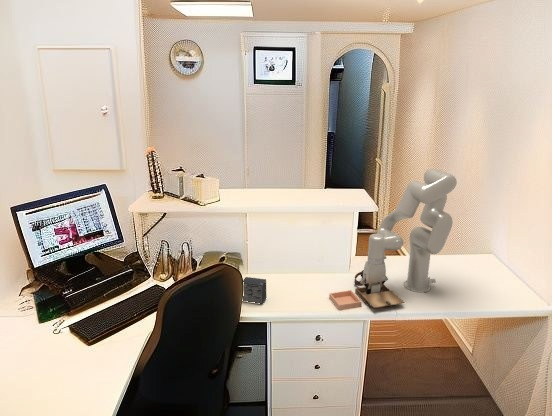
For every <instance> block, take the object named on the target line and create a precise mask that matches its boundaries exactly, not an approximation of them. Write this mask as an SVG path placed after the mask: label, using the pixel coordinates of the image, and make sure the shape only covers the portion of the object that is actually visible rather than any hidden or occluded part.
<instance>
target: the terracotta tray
mask: <svg viewBox="0 0 552 416" xmlns="http://www.w3.org/2000/svg"><path fill="white" fill-rule="evenodd" d="M328 297H329V300H330V301H331V302H332V304H333V305H334V306H335V307H336V308H337V310H338V311H343V310H349V309H355V308H360V307H362V303H363V301H362V300H361V299H360V298H359V297H358V296H357V294H356V293H355V292H354V291H353V290H352V289H351V290H343V291H337V292H331V293H330V292H329V295H328Z"/></svg>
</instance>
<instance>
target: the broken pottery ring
mask: <svg viewBox="0 0 552 416" xmlns="http://www.w3.org/2000/svg"><path fill="white" fill-rule="evenodd" d="M363 271H364V269H363V270H361V271H359V272H358V273H356V274H355V276H354V281H353V282H354V286H358V287H364V285H363V284H361V283H360V281H361V280H362V279H363ZM359 276H360V277H361V280H357V278H358V277H359ZM365 283H366V281H365Z"/></svg>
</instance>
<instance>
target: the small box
mask: <svg viewBox="0 0 552 416" xmlns="http://www.w3.org/2000/svg"><path fill="white" fill-rule="evenodd" d="M242 281H243V282H244V296H243V301H248V302H255V303H260V304H259V305H261V304H263V303H264V304H265V302H266V301H267V299H268V298H267V279H265V278H259V277H251V276H250V277H249V276H246V277H244V278H243V280H242ZM266 298H267V299H266ZM264 304H263V305H264Z"/></svg>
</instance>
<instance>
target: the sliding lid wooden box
mask: <svg viewBox="0 0 552 416" xmlns="http://www.w3.org/2000/svg"><path fill="white" fill-rule="evenodd" d="M354 289H355V290H354V294H355V295H356V296H357V297H358V298H359V299H360V300H361V301H362V303H364V304H365V305H370V306H371V307H372V308H373V309H376V308H377V309H378V308H383V307H389V306H394V305H401V304H405V301H404V300H403V299H402V298H401V297H399V295H398V294H397V293H395V291H393V290H390V288H388V286H386V285H385V283H384V284H383V286H382V287H381V292H379V293H373V294H366V286H360V287H355V288H354Z"/></svg>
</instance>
